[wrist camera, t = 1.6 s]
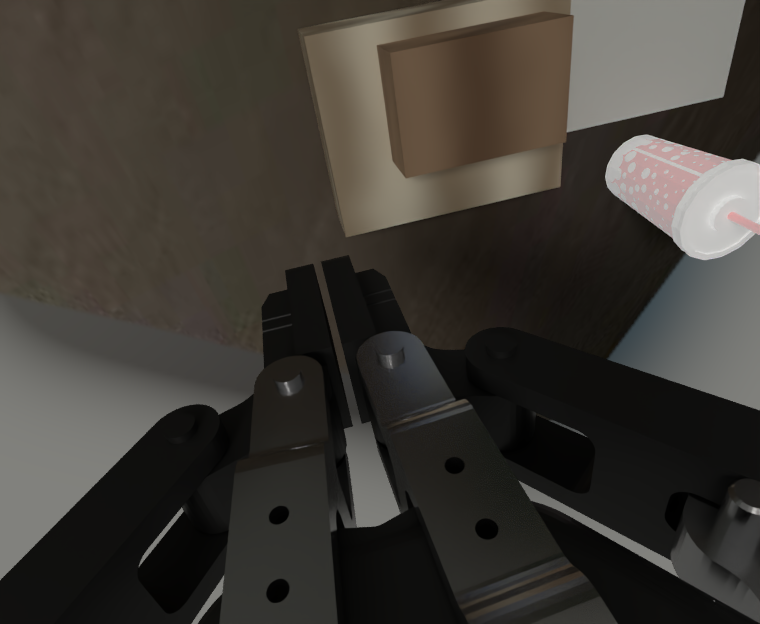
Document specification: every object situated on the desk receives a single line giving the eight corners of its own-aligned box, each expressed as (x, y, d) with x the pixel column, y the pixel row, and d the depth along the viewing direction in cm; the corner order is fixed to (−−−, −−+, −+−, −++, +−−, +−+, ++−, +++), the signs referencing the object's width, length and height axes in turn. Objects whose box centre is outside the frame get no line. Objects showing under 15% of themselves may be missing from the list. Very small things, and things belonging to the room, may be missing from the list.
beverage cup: (613, 221, 40) (760, 322, 28) (582, 163, 36) (735, 251, 25) (683, 169, 38) (866, 252, 27) (658, 104, 35) (855, 168, 24)
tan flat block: (535, -19, 29) (572, -17, 26) (531, 167, 36) (560, 186, 32) (297, 28, 28) (303, 36, 25) (336, 212, 34) (346, 237, 31)
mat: (755, -62, 31) (759, -62, 30) (720, 96, 36) (723, 96, 36) (535, -19, 29) (538, -18, 29) (532, 138, 34) (534, 139, 34)
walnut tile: (543, 11, 26) (573, 15, 24) (540, 127, 30) (566, 141, 28) (376, 45, 26) (389, 52, 23) (392, 161, 29) (405, 178, 27)
